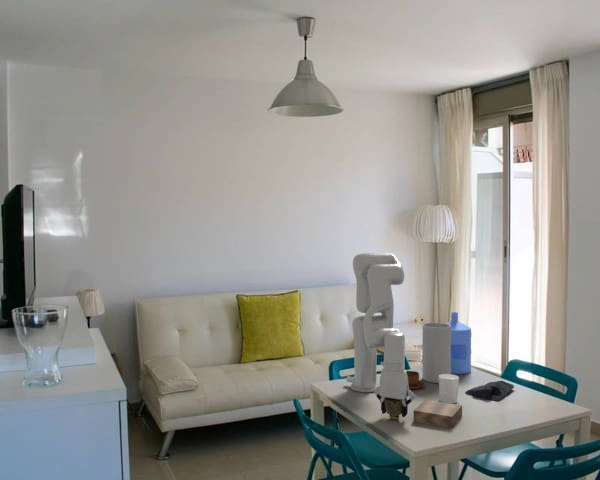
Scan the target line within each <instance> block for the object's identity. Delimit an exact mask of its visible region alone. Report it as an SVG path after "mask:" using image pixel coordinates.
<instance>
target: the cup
mask: <svg viewBox="0 0 600 480" xmlns="http://www.w3.org/2000/svg"><path fill="white" fill-rule="evenodd" d="M384 401H385V409H386V414H388V417H389V419H390V420H391V421H398V420H399V419H400V416H402V406H403V404H402V401H401V400H398V399H392V398H384Z"/></svg>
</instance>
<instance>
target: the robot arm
mask: <svg viewBox="0 0 600 480" xmlns="http://www.w3.org/2000/svg"><path fill="white" fill-rule="evenodd" d="M352 270H353V273H354V276H355V280H356V291H355V292H356V293H355V294H356V296H355V298H356V302H355V304H356V310H357V311H358V312H359V313H361V314H364V315H359V316H356V317H355V318H353V320H352V324H351V327H352V334H353V344H354V345H353V346H354V351H353V352H354V363H353V364H354V368H353V369H354V370H353V371H354V376H349V375H347V376H346V377H345V378H346V379H345V380H346V382H347V383H352V384H351V385H350V389H351V390H352V391H355V392H359V393H374V395H375V396H376V398H377V399H378V400H379V402H380V411H381V414H383V415H385V414H387V412H386V409H385V401H384V398H392V399H398V400H401V401H402V404H403V406H402V414H401V418H405V417H406V416H407V415H408V414H409V413H408V407H409V406H408V405H410V404H411V403H412V402H413V401H414V400H415V399H416V398H417V395H416V394H415V393H414V392H413V391H412V389H409V385H408V376H407V372H406V371H407V370H406V367H405V363H406V361H405V360H406V359H405V354H406V352H405V349H406V339H405V338H406V337H405V334H403V332H402V331H401V330H400V329H399V328H396V327H394V309H395V307H394V304H395V303H394V297H393V290H392V286H400V285H403V283H404V281H405V271H404V268H403V265H402V264H401V263H400V261H399V260H398V258H397V257H396V255H395V254H393V253H389V252H387V253H386V252H381V253H380V252H379V253H375V252H369V253H358V254H356V255H355V256H354V257H353V259H352ZM376 313H377V314H378V315H377V314H376ZM377 349H381V350H382V349H383V361H380V363H379V364H380V366H383V367H382V369H381V370H380V371H381V372H380V376H379V377H380V378H379V384H378V383H377V381H378V380H377V377H378V376H377V372H378V371H377V367H378V366H377V363H378V362H377V361H378V360H377V357H378V356H377V354H378V353H377V352H378V351H377ZM408 396H409V398H407V397H408Z"/></svg>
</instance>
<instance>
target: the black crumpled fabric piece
mask: <svg viewBox="0 0 600 480" xmlns="http://www.w3.org/2000/svg"><path fill="white" fill-rule="evenodd" d="M514 388H515V385H514V384H512V383H509V382H507V381H504V380H496V381H490V382H487V383H486V384H483V385H479V386H475V387H472V388H471V389H468V390H465V394H466V395H467V396H470V397H474V398H477V399H482V400H485V401H492V402H493V401H495V402H499V401H501V399H504V398H506V396H507V395H508V394H509V393H510V392H511V391H512V390H513V389H514Z"/></svg>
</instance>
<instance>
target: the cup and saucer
mask: <svg viewBox="0 0 600 480" xmlns="http://www.w3.org/2000/svg"><path fill="white" fill-rule="evenodd" d="M406 372H407V376H408V385H409V389H410V390H416V389H417V390H418V389H421V388H423V387H424V386H425V382H424V380H421V379H420V373H419V372H417V371H414V370H406Z"/></svg>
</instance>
